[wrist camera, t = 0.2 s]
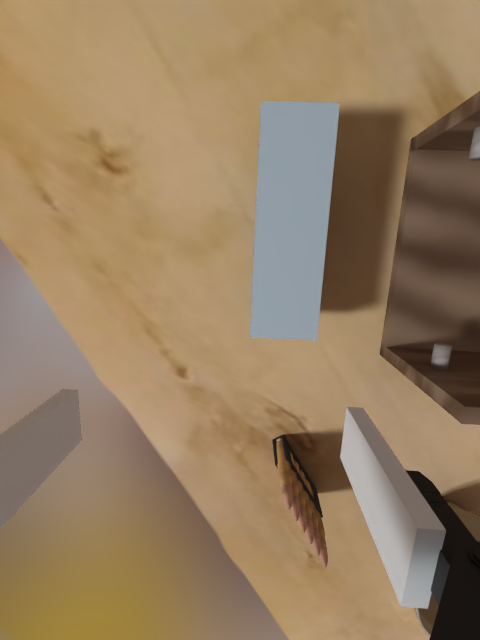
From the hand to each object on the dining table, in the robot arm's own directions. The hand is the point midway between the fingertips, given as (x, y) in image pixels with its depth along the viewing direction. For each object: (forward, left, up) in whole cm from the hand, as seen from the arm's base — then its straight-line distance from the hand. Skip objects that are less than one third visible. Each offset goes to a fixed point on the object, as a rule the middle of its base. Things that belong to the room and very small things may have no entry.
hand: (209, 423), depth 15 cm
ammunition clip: (+23, +9, -27) cm, 37 cm away
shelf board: (-10, +5, -22) cm, 25 cm away
